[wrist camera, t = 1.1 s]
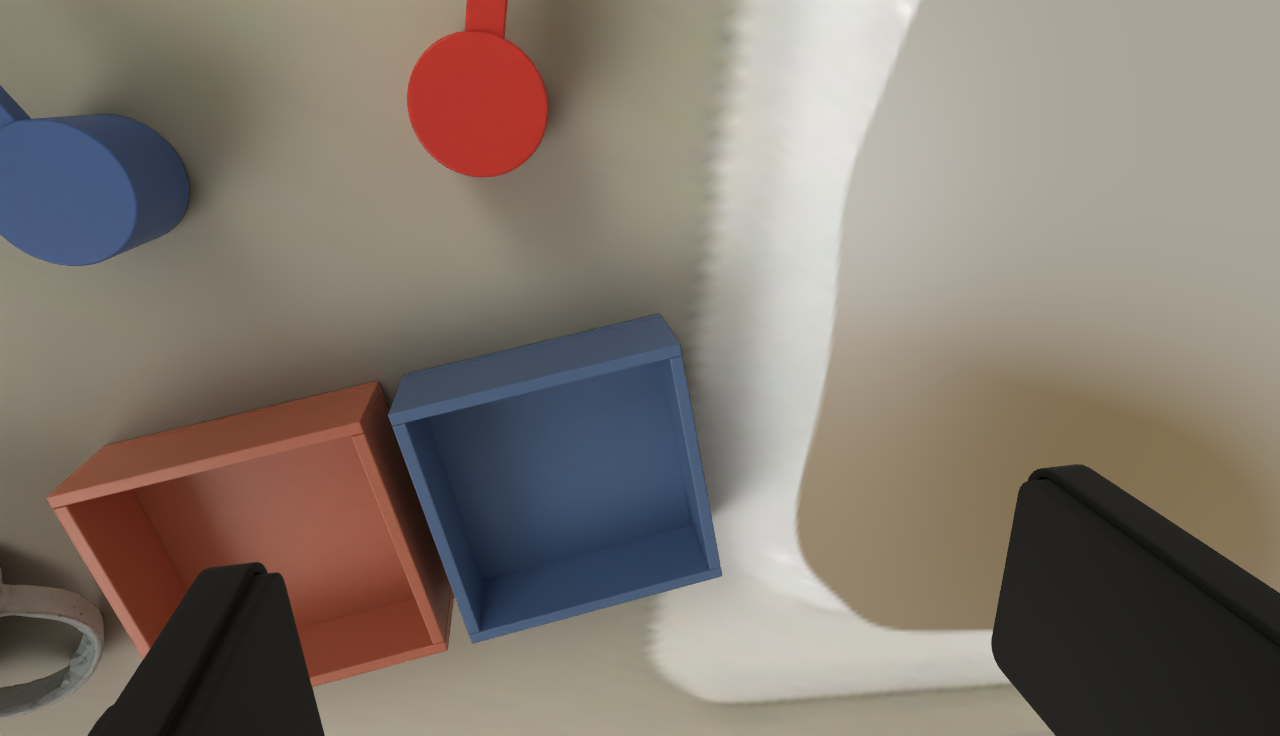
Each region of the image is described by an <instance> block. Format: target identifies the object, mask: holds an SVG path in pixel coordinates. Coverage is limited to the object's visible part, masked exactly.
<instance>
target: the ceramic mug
mask: <svg viewBox="0 0 1280 736" xmlns="http://www.w3.org/2000/svg"><path fill="white" fill-rule="evenodd" d="M9 615H17V616H26V617H35V618H46V619H52V620H58V621H62V622H65V623H68V624H71V625H73V626H75V627H77V629H78V630H79V631H81V632H83V633H84V634H83V637H82V640H81V643H80V645H79V647H78V649H77V651H76V652H75V653H74V654H73V655H71V656H70V660H69V666H67V667H65V668H64V669H62V670H60V671H58V672H56V673H54V674H52V675H50V676H47V677H44V678H41V679H37V680H34V681H32V682H30V683H25V684H20V685H19V684H18V685H14V686H9V687H2V688H0V719H2V718H8V717H13V716H17V715H21V714H26V713H30V712H33V711H36V710H38V709H41V708H44V707H47V706H50V705H53V704H55V703H57V702H59V701H60V700H62V699H64V698H65V697H67V696H68V695H70V694H71V693H73V692H74V691H75V690H77V689H78V688H79V687H80V686H82V685H83V684H84V683H85V682H86V681H87V680H88V678H89V677H90V676H91V675H92V673H93V672H94V671H95V669H96V667H97V665H98V663H99V661H100V659H101V655H102V652H103V648H104V621H103V617H102V615H101V613H100V611H99V609H98V608H97V606H96V605H95V604H93V603H92V602H90V601H89V600H88V599H86V598H85V597H83V596H82V595H79V594H76V593H74V592H72V591H70V590H66V589H61V588H54V587H45V586H34V585H8V584H2V570H1V568H0V617H3V616H9Z"/></svg>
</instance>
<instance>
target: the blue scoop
mask: <svg viewBox="0 0 1280 736" xmlns="http://www.w3.org/2000/svg"><path fill="white" fill-rule="evenodd" d="M188 202H189V182H188V177H187V174H186V170H185V168H184V166H183V163H182V161H181V160H180V158H179V156H178V155H177V153H176V152H175V150H174V149H173V148H172V146H171V145H170V144H169V143H168V142H167V141H166V140H165V139H164V138H163V137H162V136H160V135H159V134H158V133H157V132H155V131H154V130H152V129H151V128H149V127H148V126H146V125H144V124H142V123H140V122H138V121H135V120H133V119H130V118H127V117H123V116H118V115H112V114H97V115H82V116H67V117H52V118H37V119H31V118H30V117H29V116H28V115H27V114H26V113H25V112H24V110H23V109H22V108H21V107H20V106H19V105H18V104H17V103H16V102H15V101H14V100H13V99H12V97H11V96H10V95H9V94H8V93H7V92H6V91H5V90H4V89H3V88H2V87H1V86H0V234H1V235H2V236H3V237H4V238H5V239H6V240H7V241H9V242H10V243H11V244H13V245H14V246H15V247H17V248H18V249H20V250H22V251H24V252H25V253H27V254H29V255H31V256H33V257H36V258H38V259H41V260H44V261H47V262H50V263H55V264H59V265H67V266H83V265H91V264H95V263H99V262H102V261H104V260H107V259H109V258H111V257H114V256H116V255H118V254H121V253H123V252H126V251H128V250H130V249H133V248H135V247H137V246H140V245H142V244H144V243H147V242H149V241H151V240H154V239H156V238H158V237H161V236H163V235H164V234H166V233H168V232H169V231H171V230H172V229H173V228H174V227H175V226H176V225H177V224H178V223H179V222H180V220H181V219H182V217H183V216H184V213H185V211H186V209H187V205H188Z"/></svg>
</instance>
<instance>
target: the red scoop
mask: <svg viewBox="0 0 1280 736" xmlns="http://www.w3.org/2000/svg"><path fill="white" fill-rule="evenodd" d="M507 2H508V0H467V8H466V22H465V31H463V32H457V33H454V34H451V35H448V36H446V37H444V38H442V39H440V40H438V41H437V42H435V43H434V44H432V45H431V46H430V47H429V48H428V49H427V50H426V51H425V52H424V53H423V54H422V56H421V57H420V58H419V60H418V61H417V63H416V65H415V67H414V69H413V71H412V74H411V77H410V81H409V85H408V93H407V106H408V112H409V117H410V121H411V124H412V127H413V129H414V131H415V134H416V135H417V137H418V139H419V141H420V142H421V144H422V145H423V146H424V148H425V149H426V150H427V151H428V152H429V153H430V154H431V156H432V157H434V158H435V159H436V160H437V161H438V162H440V163H441V164H443V165H444V166H446V167H447V168H449V169H451V170H453V171H455V172H458V173H461V174H464V175H468V176H473V177H493V176H498V175H502V174H505V173H508V172H510V171H512V170H514V169H516V168H517V167H519V166H520V165H522V164H523V163H524V162H525V161H527V160H528V159H529V158H530V157H531V155H532V154H533V153H534V152H535V151H536V149H537V147H538V146H539V144H540V142H541V140H542V138H543V136H544V133H545V129H546V126H547V120H548V98H547V94H546V89H545V86H544V83H543V80H542V78H541V76H540V74H539V72H538V70H537V68H536V67H535V65H534V64H533V62H532V61H531V60H530V59H529V57H528V56H527V55H526V54H525V53H524V52H523V51H522V50H521V49H520V48H518V47H517V46H516V45H514V44H513V43H512V42H510V41H508V40H506V39H504V37H505V25H506V14H507Z"/></svg>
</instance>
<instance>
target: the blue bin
mask: <svg viewBox="0 0 1280 736" xmlns="http://www.w3.org/2000/svg"><path fill="white" fill-rule="evenodd" d="M388 416H389V419H390V422H391V425H392V426H393V430H394V433H395V435H396V438H397V441H398V444H399V446H400V449H401V452H402V454H403V457H404V460H405V463H406V465H407V468H408V471H409V474H410V476H411V479H412V482H413V484H414V487H415V490H416V493H417V495H418V498H419V501H420V503H421V506H422V509H423V512H424V514H425V517H426V520H427V523H428V525H429V528H430V531H431V533H432V536H433V539H434V542H435V544H436V547H437V550H438V553H439V555H440V558H441V561H442V563H443V566H444V569H445V572H446V574H447V577H448V580H449V582H450V585H451V588H452V591H453V593H454V596H455V599H456V602H457V604H458V607H459V610H460V612H461V615H462V618H463V621H464V623H465V626H466V629H467V631H468V634H469V637H470V640H471V642H472V643H476V642H480V641H484V640H488V639H491V638H495V637H499V636H502V635H506V634H510V633H513V632H517V631H521V630H525V629H528V628H532V627H536V626H539V625H543V624H547V623H550V622H554V621H558V620H562V619H565V618H569V617H573V616H576V615H580V614H584V613H587V612H591V611H595V610H599V609H602V608H606V607H610V606H613V605H617V604H621V603H624V602H628V601H632V600H636V599H639V598H643V597H647V596H650V595H654V594H658V593H661V592H665V591H669V590H673V589H676V588H680V587H684V586H687V585H691V584H695V583H698V582H702V581H706V580H710V579H713V578H717V577H721V576H722V571H721V567H720V560H719V555H718V549H717V544H716V538H715V533H714V527H713V522H712V516H711V511H710V506H709V500H708V495H707V489H706V484H705V478H704V473H703V467H702V462H701V456H700V451H699V445H698V440H697V434H696V429H695V423H694V418H693V412H692V407H691V401H690V396H689V390H688V385H687V379H686V374H685V368H684V363H683V357H682V352H681V346H680V344H679V342H678V341H677V339H676V337H675V336H674V334H673V333H672V331H671V330H670V328H669V327H668V325H667V324H666V322H665V321H664V319H663V318H662V316H661V315H660V314H655V315H651V316H647V317H643V318H639V319H634V320H630V321H626V322H622V323H618V324H613V325H609V326H605V327H601V328H597V329H592V330H588V331H584V332H580V333H576V334H571V335H567V336H563V337H559V338H555V339H550V340H546V341H542V342H538V343H534V344H529V345H525V346H521V347H517V348H513V349H509V350H504V351H500V352H496V353H492V354H488V355H483V356H479V357H475V358H471V359H467V360H462V361H458V362H454V363H450V364H446V365H441V366H437V367H433V368H429V369H425V370H420V371H416V372H412V373H408V374H404V375H403V376H402V379H401V382H400V384H399V387H398V390H397V392H396V395H395V398H394V400H393V403H392V405H391V408H390V411H389V413H388Z"/></svg>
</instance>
